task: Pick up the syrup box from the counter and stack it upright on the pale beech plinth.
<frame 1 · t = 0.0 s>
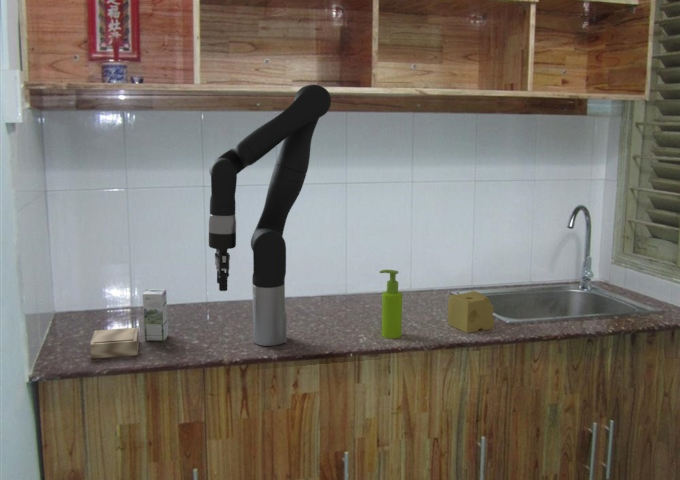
hand: (222, 286, 190), 17 cm above the worktop, tool pointing down, fingers open, 8 cm apart
cheese: (469, 327, 211), on the worktop
plinth: (115, 349, 189), on the worktop
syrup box: (156, 339, 198), on the worktop
soap dispenser: (389, 335, 202), on the worktop
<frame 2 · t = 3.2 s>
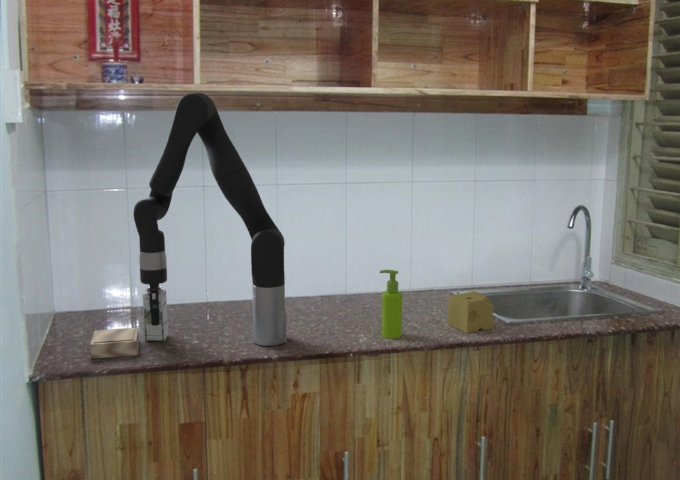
hand: (155, 321, 197), 5 cm above the worktop, tool pointing down, fingers closed on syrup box, 6 cm apart
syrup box: (156, 339, 198), on the worktop, touching gripper
everything else where it was.
when the fingers open (10 cm above the worktop, at t = 7.6 s): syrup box stays where it is, resting on plinth.
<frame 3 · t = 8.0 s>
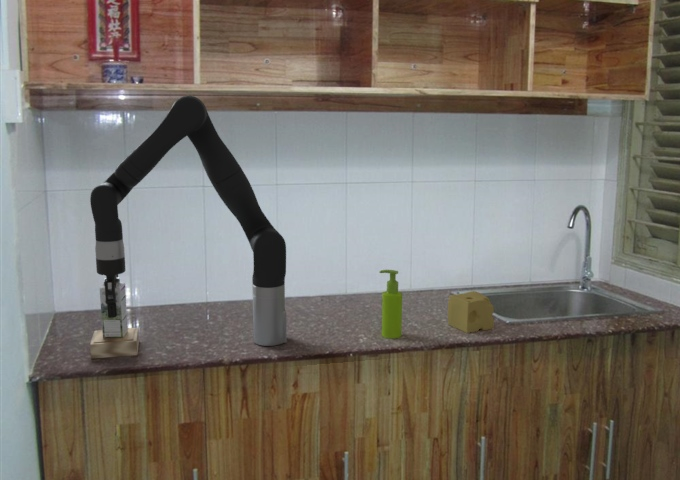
hand: (113, 312, 187), 11 cm above the worktop, tool pointing down, fingers open, 8 cm apart
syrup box: (115, 335, 188), point 4 cm above the worktop, touching plinth
everything else where it was.
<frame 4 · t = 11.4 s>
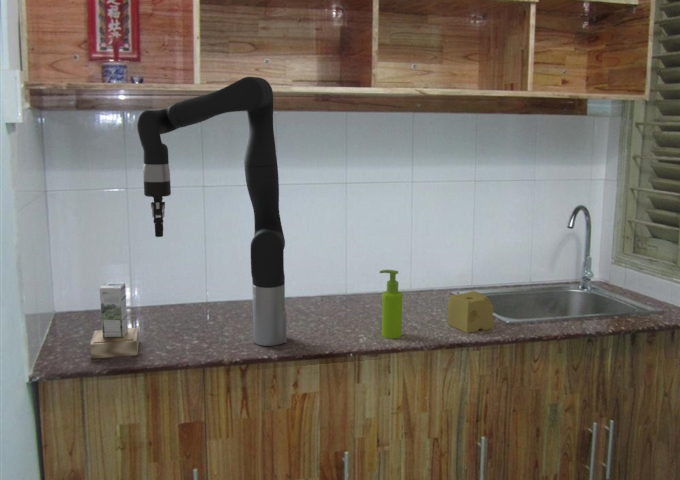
hand: (159, 234, 199), 30 cm above the worktop, tool pointing down, fingers open, 8 cm apart
nothing on the worktop moved.
at the end: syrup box inside the target area on the plinth (0.4 cm from its centre), point 4.1 cm above the plinth's base; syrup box tilted 0°; the gripper is holding nothing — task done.
